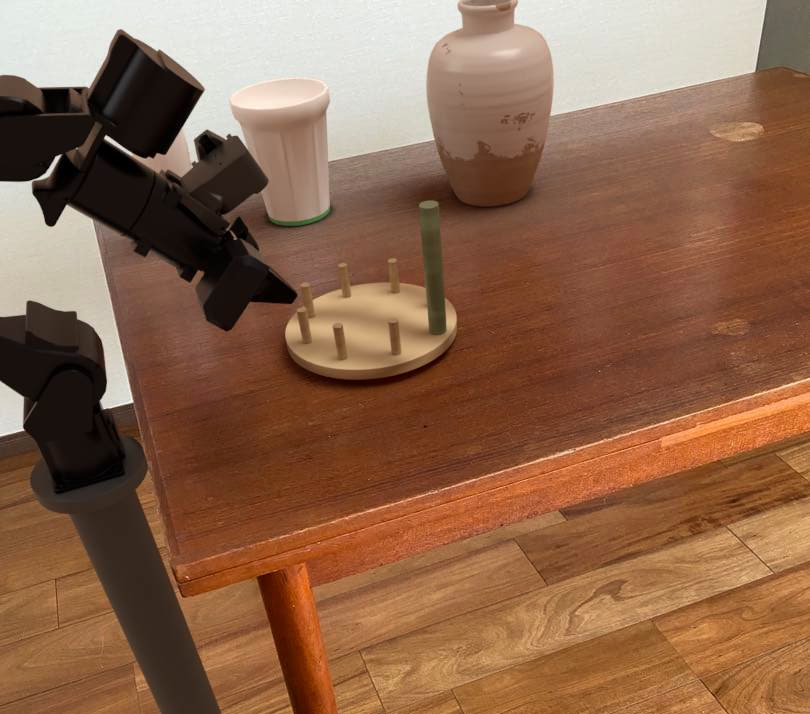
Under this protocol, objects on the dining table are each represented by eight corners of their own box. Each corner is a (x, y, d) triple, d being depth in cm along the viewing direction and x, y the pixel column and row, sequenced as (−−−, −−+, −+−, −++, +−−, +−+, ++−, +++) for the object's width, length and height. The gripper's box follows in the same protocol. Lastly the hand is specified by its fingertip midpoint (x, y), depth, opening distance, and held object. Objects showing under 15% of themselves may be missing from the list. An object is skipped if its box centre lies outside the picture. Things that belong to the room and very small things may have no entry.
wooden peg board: (421, 390, 84) (408, 248, 74) (256, 367, 90) (224, 232, 80) (480, 300, 96) (475, 167, 86) (331, 285, 102) (311, 159, 92)
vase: (488, 227, 111) (483, 23, 96) (409, 196, 121) (393, 6, 106) (576, 188, 118) (584, -9, 102) (494, 161, 128) (491, -22, 112)
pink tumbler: (205, 252, 114) (174, 130, 103) (154, 256, 114) (118, 135, 104) (214, 230, 119) (185, 111, 108) (165, 234, 119) (132, 116, 109)
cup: (359, 216, 118) (343, 93, 107) (272, 241, 114) (247, 116, 104) (324, 187, 126) (306, 70, 116) (242, 210, 123) (216, 91, 112)
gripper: (213, 148, 60) (381, 264, 70) (170, 81, 74) (316, 186, 83) (131, 283, 64) (302, 375, 74) (104, 196, 77) (252, 283, 87)
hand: (294, 298), depth 79 cm, fingers closed
